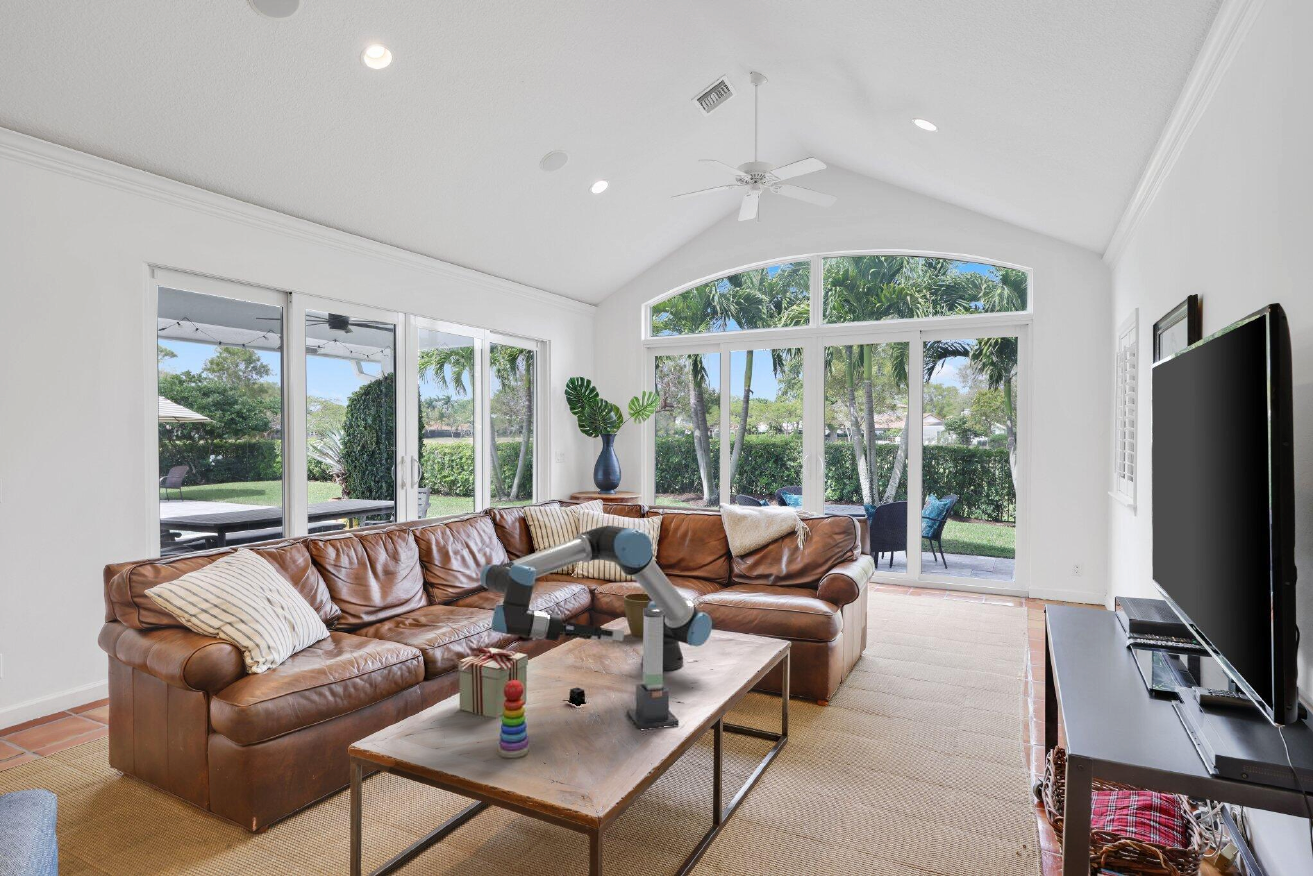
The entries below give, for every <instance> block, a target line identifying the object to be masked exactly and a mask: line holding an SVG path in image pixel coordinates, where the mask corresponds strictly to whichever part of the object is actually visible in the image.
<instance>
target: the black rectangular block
mask: <svg viewBox="0 0 1313 876" xmlns="http://www.w3.org/2000/svg"><path fill="white" fill-rule="evenodd" d="M568 698H569V700H564V699H562V700H563V701H568V702H569V703H572V704H575V705H576V706H580V705H581V704H586V703H587V702H588V701H586V693H585V689H583V688H580V687H574V688H570V689H569V697H568ZM563 701H562V702H563ZM585 701H586V702H585Z"/></svg>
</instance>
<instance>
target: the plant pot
mask: <svg viewBox="0 0 1313 876" xmlns="http://www.w3.org/2000/svg"><path fill="white" fill-rule="evenodd" d="M652 601H653V600H652V599H651V598H650V597H649V596H648V594H647V593H646V592H645V593H644V592H643V593H642V592H641V593H640V592H635V593H628V594H625V595H624V596H623V605H624V611H625V616H626V621H627V625H628V627H629V631H630V634H631V636H632V637H634V636H636V637H635V638H643V630H644V615H643V609H644V608H648V604H649V603H650V602H652Z"/></svg>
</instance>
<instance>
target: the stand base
mask: <svg viewBox="0 0 1313 876" xmlns="http://www.w3.org/2000/svg"><path fill="white" fill-rule="evenodd" d="M669 698H670V691H669V689H668V688H667V687H666V686H665V685H664V684H662V690H657V691H647V692H646V691H645V690H644V688H643V683H638V684H636V685H635V708H632V709H631V708H629V709H626V712H625V713H626V714H627V715H628V716H627V715H626V716H627V717H629V718H628V719H629V720H630V721H632V722H633V723H632V722H631V723H632V724H633V726H634V725H635V726H636V727H635V726H634V727H635V728H636V730H637V729H638V730H640V731H642V730H641V729H648V730H650V729H649V728H656V729H660V728H659V727H664V726H673V727H675V726H674V725H679V723H680V721H679V719H678V718H677V717H676V716H675V715H674V714H673V712H671V711H670V709H669V707H670V704H669V702H670V700H669ZM664 728H665V727H664ZM638 730H637V731H638Z"/></svg>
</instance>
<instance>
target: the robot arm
mask: <svg viewBox="0 0 1313 876" xmlns="http://www.w3.org/2000/svg"><path fill="white" fill-rule="evenodd" d="M652 547H653V543H652V539H651V538H650V537H649V536H648V534H647V533H646V532H643V531H641V530H639V529H637V528H633V527H623V526H616V525H603V526H599V527H596V528H592V529H590V530H586V531H584V532H581V533H578V534H576V535H575V536H574V537H573V539H571V540H568V541H565V542H562V543H560V544H559V543H558V544H556V545H554V546H551V547H547V548H545V549H543V550H539V551H536V552H534V553H531V554H527V555H525V556H523V557H519V558H517V559H514V560H511V561H508V562H507V561H506V562H505V563H501V564H500V565H499V564H497V563H495V564H488V565H486V566H485V567H484V568H483V569H482V570H481V572H480V575H479V580H480V584H481V585H482V587H484V588H485V589H486V590H487V589H488V590H489V591H491V592H496V593H499V594H501V595H503V596H504V598H503V602H502V604H497V605H495V606H494V609H493V614H492V619H491V624H490V627H491V630H492V631H493V632H495V633H500V634H505V635H510V636H517V637H526V638H532V640H533V641H536V640H537V639H538V640H542V639H545V640H546V641H551V642H552V641H553V642H557V641H559V639H560V636H564V637H565V638H578V639H583V640H591V641H597V642H603V643H604V642H606V643H611V644H613V641H621V642H623V641H624V634H625V630H620V629H614V628H613V629H612V628H607V627H602V626H600V625H599V626H597V625H587V624H581V623H576V622H571V621H568V622H566V623H563V615H562V614H559V613H553V612H552V613H548V611H547V612H546V611H542V610H541V611H540V610H535V609H534V610H531V609H530V606H531V599H532V595H533V590H534V587H535V583H536V579H537V578H540V577H542V576H545V575H548V574H551V573H554V572H556V571H559V570H561V569H563V568H567V567H569V566H572V565H574V564H578V563H580V562H582V563H588V562H589V563H590V562H592V561H607V562H611V563H614V564H616V566H617V567H618V568H619V569H620V570H621V572H623V573H624V574H625V575H626V576H630V577H633V579H634V580H635V581H636V582H637V583H638V584H639V586H640V587H641V588H642V590H643V591H644V592H645V594H648V596H649V597H650V598H651V599H652V600H653V601H652V602H650V603H649V604H648V608H649V607H657V608H662V609H664V616H663V671H672V670H678V669H681V668H682V667H683V666H684V656H683V652H682V649H681V646H680V645H681V644H680V643H683V644H686V645H688V646H691V647H692V646H693V647H701V646H702V645H704V644H705V643H706V642H707V641H708V639H709V638H710V635H711V633H712V627H713V624H712V623H713V622H712V618H711V617H710V615H709V614H707V613H706V612H704V611H703V612H702V611H699V609H698V608H697V607H696V605H695V604H694V603H693V602H692V601H691V600H689V599H684V598H683V596H682V595H681V594H680V593H679V591H678V590H677V588H676V587H675V586H674V585H673V583H672V582H671V581H670V580H669V578H668V577H667V576H666V574H665V573H664V572H663V570H662V569H661V568H660V567H659V566H658V564H657V563H656V562H655V560H654V559H653V558H654V552H653V551H654V550H653V548H652ZM641 665H642V666H643V655H642V657H641Z"/></svg>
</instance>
